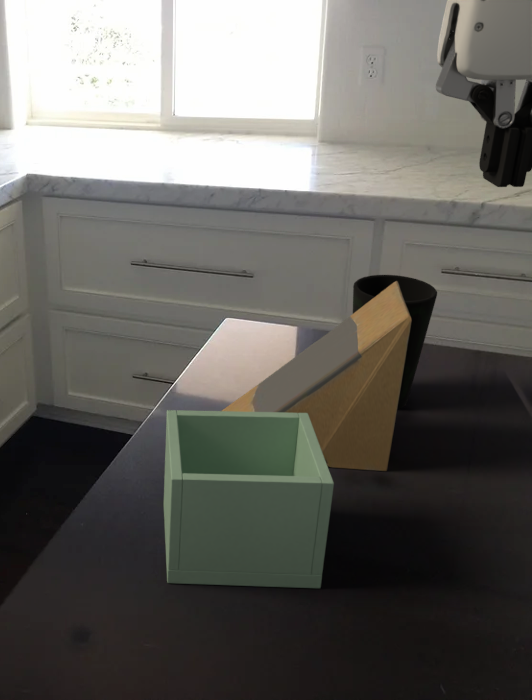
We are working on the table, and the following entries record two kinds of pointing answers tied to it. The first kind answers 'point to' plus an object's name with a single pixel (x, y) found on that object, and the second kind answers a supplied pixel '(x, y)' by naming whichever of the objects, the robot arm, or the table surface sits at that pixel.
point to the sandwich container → (346, 384)
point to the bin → (245, 499)
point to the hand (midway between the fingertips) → (502, 181)
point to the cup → (420, 309)
